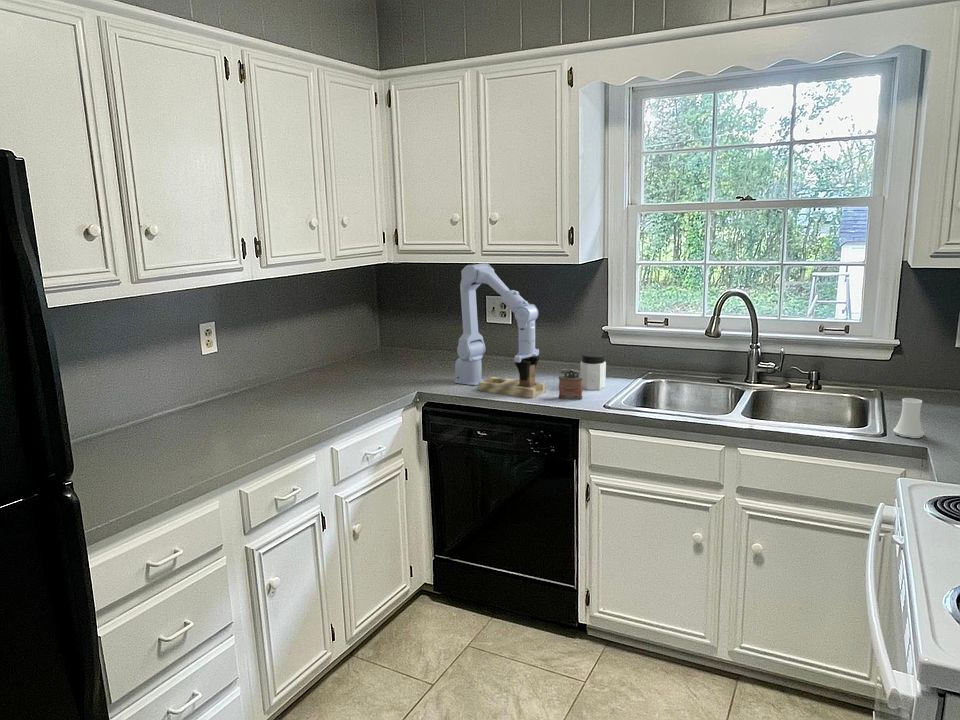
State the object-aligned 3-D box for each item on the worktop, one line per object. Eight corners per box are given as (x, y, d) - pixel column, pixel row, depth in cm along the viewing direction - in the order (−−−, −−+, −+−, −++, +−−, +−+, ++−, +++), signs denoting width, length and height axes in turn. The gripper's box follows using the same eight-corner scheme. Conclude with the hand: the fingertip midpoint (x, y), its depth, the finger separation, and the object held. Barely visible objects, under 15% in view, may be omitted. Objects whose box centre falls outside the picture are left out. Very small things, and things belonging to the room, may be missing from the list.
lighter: (583, 397, 249) (583, 368, 247) (581, 400, 246) (582, 371, 243) (559, 396, 251) (559, 367, 249) (557, 398, 248) (557, 370, 246)
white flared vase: (895, 428, 211) (899, 395, 208) (926, 433, 206) (930, 399, 204) (890, 435, 205) (894, 401, 203) (921, 440, 200) (925, 405, 198)
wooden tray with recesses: (478, 390, 260) (478, 382, 259) (492, 384, 268) (492, 376, 267) (533, 398, 249) (533, 389, 249) (545, 391, 257) (545, 383, 256)
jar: (580, 390, 258) (580, 356, 256) (579, 384, 266) (580, 352, 264) (606, 390, 257) (606, 356, 255) (604, 384, 265) (605, 352, 263)
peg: (519, 388, 254) (519, 365, 253) (524, 385, 258) (524, 363, 256) (529, 389, 252) (529, 367, 251) (535, 387, 256) (534, 364, 254)
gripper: (527, 344, 243) (527, 384, 246) (546, 337, 255) (546, 375, 258) (508, 343, 247) (509, 382, 250) (528, 335, 259) (528, 373, 262)
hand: (527, 378), depth 254 cm, fingers closed on peg, 4 cm apart
